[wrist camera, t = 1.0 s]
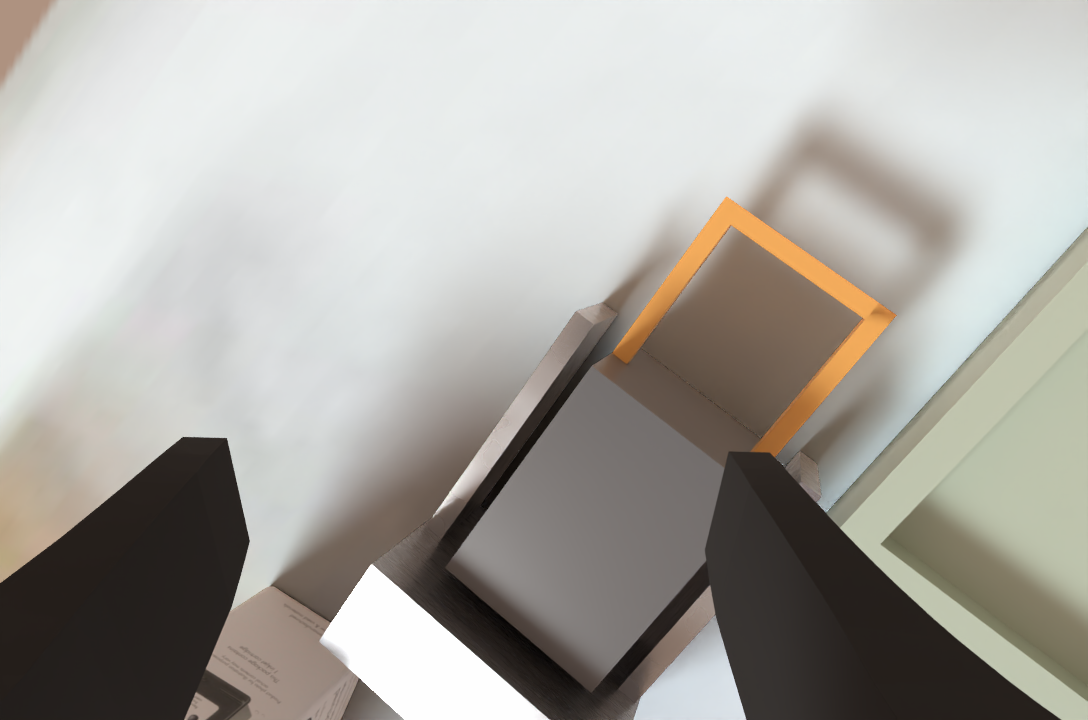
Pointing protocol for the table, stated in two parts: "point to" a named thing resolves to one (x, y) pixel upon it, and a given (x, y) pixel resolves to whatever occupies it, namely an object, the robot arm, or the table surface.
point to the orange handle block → (632, 479)
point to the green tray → (998, 496)
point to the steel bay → (477, 629)
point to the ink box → (272, 666)
